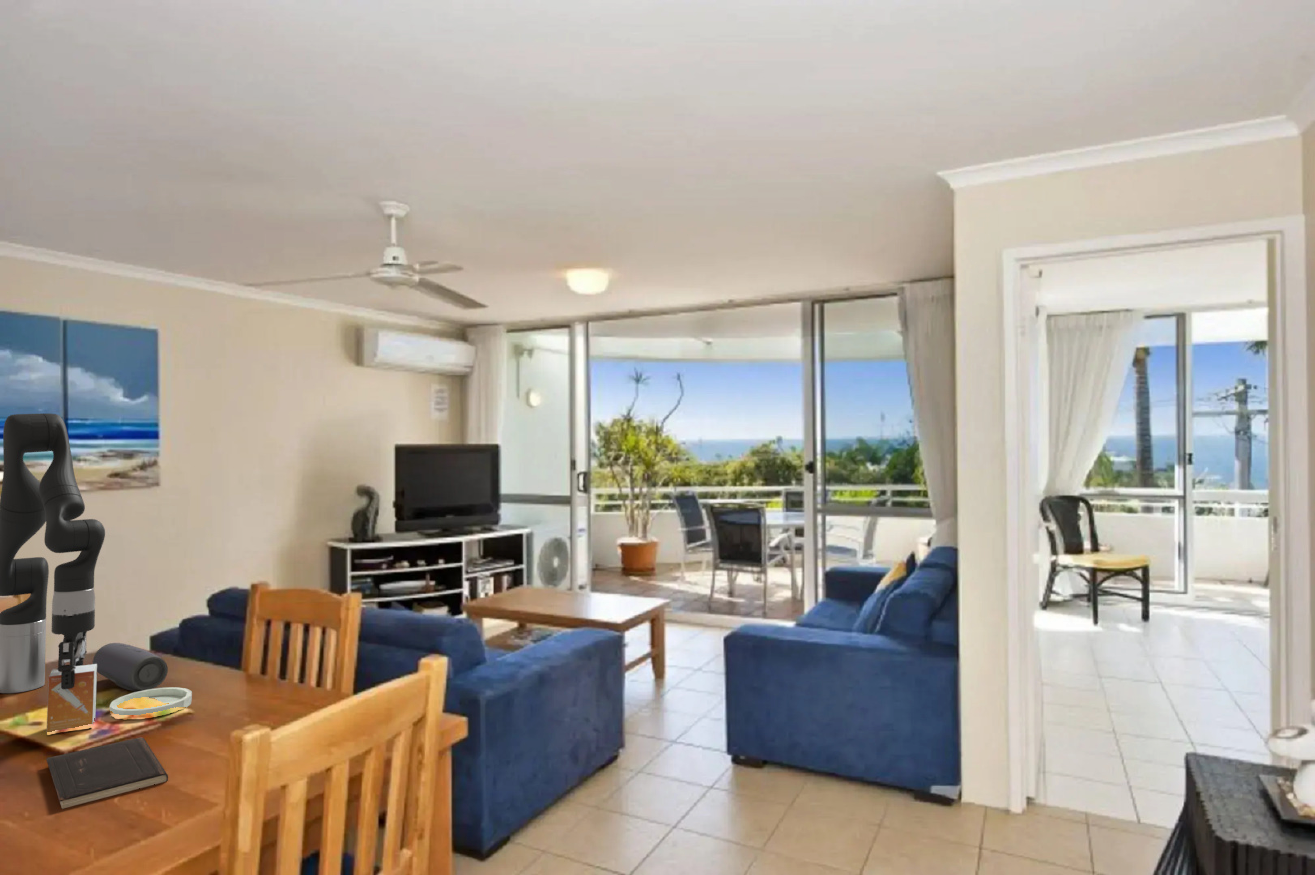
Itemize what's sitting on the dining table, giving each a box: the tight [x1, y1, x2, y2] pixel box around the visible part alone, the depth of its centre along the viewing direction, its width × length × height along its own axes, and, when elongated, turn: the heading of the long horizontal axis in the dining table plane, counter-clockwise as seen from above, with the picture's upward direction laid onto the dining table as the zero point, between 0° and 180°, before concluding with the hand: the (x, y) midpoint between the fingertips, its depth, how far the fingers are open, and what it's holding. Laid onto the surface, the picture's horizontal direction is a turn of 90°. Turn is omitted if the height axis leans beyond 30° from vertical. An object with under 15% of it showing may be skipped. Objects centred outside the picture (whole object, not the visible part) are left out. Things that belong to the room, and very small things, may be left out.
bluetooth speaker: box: [92, 642, 169, 692], centre depth 191 cm, size 23×9×10 cm, turn 58°
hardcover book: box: [46, 737, 169, 810], centre depth 141 cm, size 16×23×2 cm
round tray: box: [109, 686, 193, 715], centre depth 176 cm, size 16×16×2 cm
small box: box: [46, 663, 98, 733], centre depth 163 cm, size 8×6×13 cm
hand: (72, 683), depth 163 cm, fingers open, 8 cm apart
